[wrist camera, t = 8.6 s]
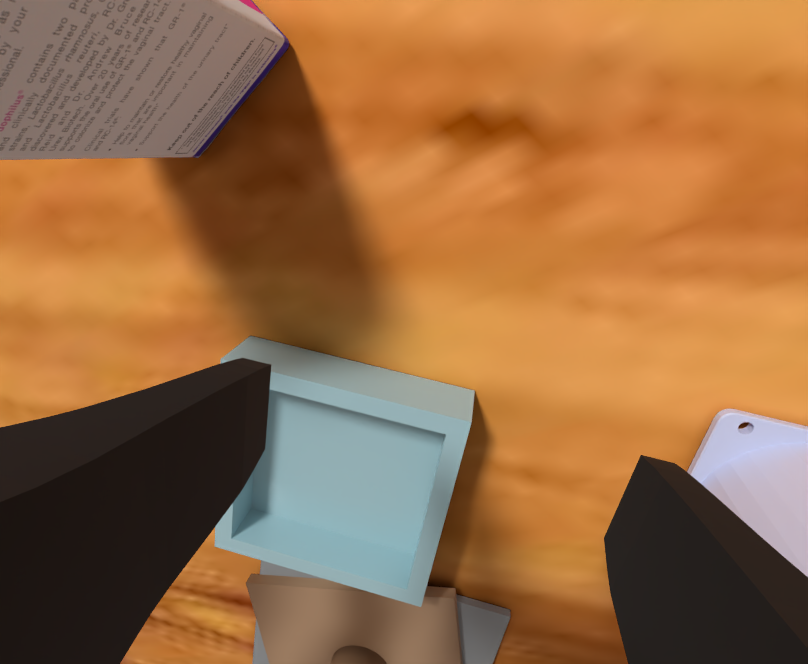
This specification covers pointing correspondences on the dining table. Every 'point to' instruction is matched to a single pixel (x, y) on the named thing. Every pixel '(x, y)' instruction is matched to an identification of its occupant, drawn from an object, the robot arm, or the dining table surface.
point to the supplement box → (127, 75)
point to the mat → (476, 619)
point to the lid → (352, 623)
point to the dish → (349, 471)
